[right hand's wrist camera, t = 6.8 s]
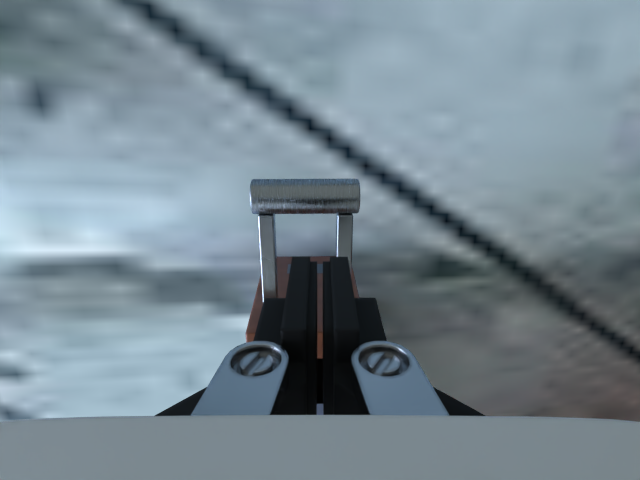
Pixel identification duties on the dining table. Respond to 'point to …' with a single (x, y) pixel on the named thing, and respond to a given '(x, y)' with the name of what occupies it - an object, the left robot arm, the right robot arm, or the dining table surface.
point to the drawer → (275, 270)
